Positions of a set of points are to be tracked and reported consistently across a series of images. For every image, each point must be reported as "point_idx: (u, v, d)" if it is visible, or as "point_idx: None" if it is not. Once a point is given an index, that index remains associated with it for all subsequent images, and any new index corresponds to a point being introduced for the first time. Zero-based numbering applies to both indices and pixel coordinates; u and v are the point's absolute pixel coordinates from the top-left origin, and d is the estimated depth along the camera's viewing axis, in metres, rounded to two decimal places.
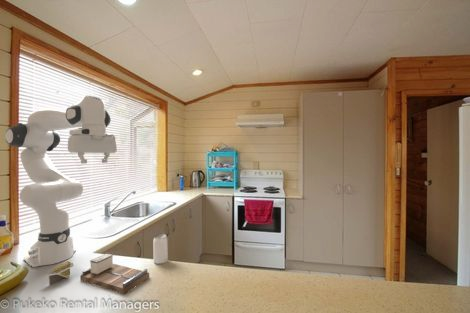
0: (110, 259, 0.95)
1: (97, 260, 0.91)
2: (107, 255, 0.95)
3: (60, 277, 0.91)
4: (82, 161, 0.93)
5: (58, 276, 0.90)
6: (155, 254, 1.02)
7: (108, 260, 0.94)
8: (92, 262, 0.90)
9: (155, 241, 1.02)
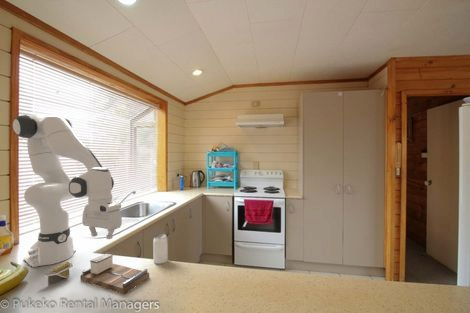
0: (110, 259, 0.95)
1: (97, 260, 0.91)
2: (107, 255, 0.95)
3: (59, 277, 0.90)
4: (111, 236, 0.91)
5: (57, 276, 0.90)
6: (155, 254, 1.02)
7: (108, 260, 0.94)
8: (92, 262, 0.90)
9: (155, 241, 1.02)
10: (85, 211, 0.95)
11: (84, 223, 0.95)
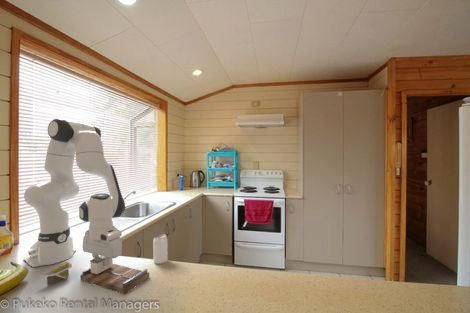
0: (110, 259, 0.95)
1: (97, 260, 0.91)
2: None
3: (58, 278, 0.90)
4: (107, 263, 0.92)
5: (56, 277, 0.89)
6: (155, 254, 1.02)
7: None
8: (92, 262, 0.90)
9: (155, 241, 1.02)
10: (85, 237, 0.95)
11: (84, 249, 0.95)
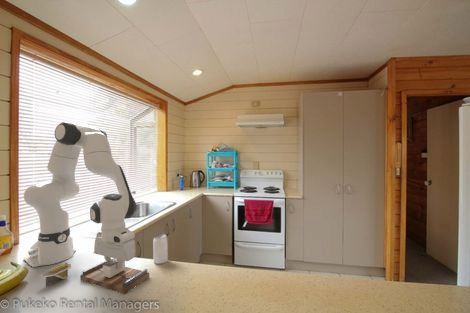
0: None
1: (110, 263, 0.88)
2: None
3: (57, 278, 0.90)
4: (120, 266, 0.89)
5: (55, 277, 0.89)
6: (155, 254, 1.02)
7: None
8: (105, 265, 0.88)
9: (155, 241, 1.02)
10: (97, 239, 0.92)
11: (96, 251, 0.92)
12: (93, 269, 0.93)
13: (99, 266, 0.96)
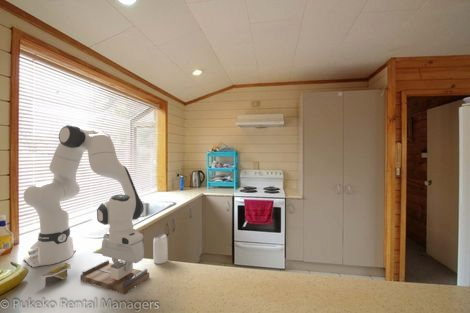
0: None
1: (118, 265, 0.86)
2: None
3: (57, 279, 0.90)
4: (128, 268, 0.88)
5: (55, 277, 0.89)
6: (155, 254, 1.02)
7: None
8: (112, 267, 0.86)
9: (155, 241, 1.02)
10: (105, 241, 0.90)
11: (103, 253, 0.90)
12: (93, 269, 0.93)
13: (99, 266, 0.96)
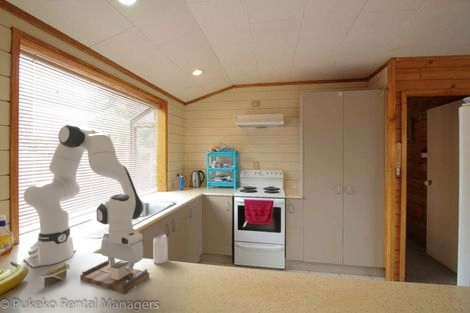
0: None
1: (118, 265, 0.86)
2: None
3: (56, 279, 0.89)
4: (131, 269, 0.87)
5: (54, 278, 0.89)
6: (155, 254, 1.02)
7: (128, 265, 0.89)
8: (112, 267, 0.86)
9: (155, 241, 1.02)
10: (104, 240, 0.90)
11: (103, 253, 0.90)
12: (93, 269, 0.93)
13: (99, 266, 0.96)
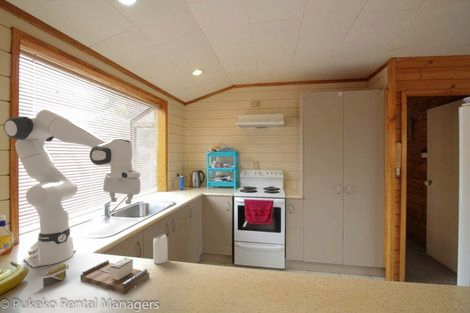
0: (130, 264, 0.90)
1: (118, 265, 0.86)
2: (127, 260, 0.91)
3: (55, 279, 0.89)
4: (129, 202, 0.99)
5: (53, 278, 0.88)
6: (155, 254, 1.02)
7: (128, 265, 0.89)
8: (112, 267, 0.86)
9: (155, 241, 1.02)
10: (106, 178, 1.02)
11: (105, 189, 1.03)
12: (93, 269, 0.93)
13: (99, 266, 0.96)
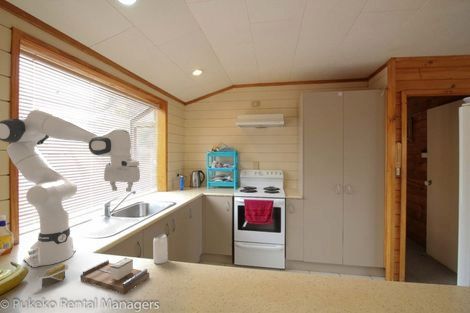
0: (130, 264, 0.90)
1: (118, 265, 0.86)
2: (127, 260, 0.91)
3: (54, 280, 0.89)
4: (130, 189, 1.03)
5: (52, 279, 0.88)
6: (155, 254, 1.02)
7: (128, 265, 0.89)
8: (112, 267, 0.86)
9: (155, 241, 1.02)
10: (107, 168, 1.06)
11: (106, 179, 1.07)
12: (93, 269, 0.93)
13: (99, 266, 0.96)
